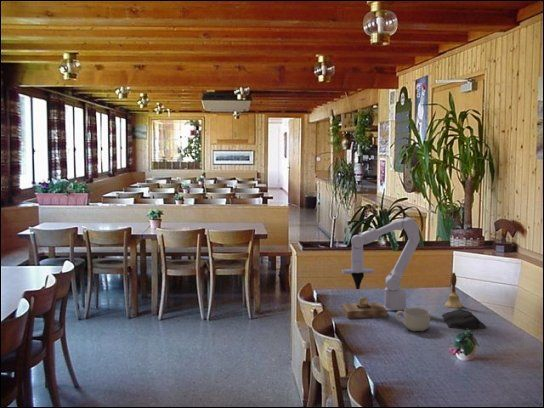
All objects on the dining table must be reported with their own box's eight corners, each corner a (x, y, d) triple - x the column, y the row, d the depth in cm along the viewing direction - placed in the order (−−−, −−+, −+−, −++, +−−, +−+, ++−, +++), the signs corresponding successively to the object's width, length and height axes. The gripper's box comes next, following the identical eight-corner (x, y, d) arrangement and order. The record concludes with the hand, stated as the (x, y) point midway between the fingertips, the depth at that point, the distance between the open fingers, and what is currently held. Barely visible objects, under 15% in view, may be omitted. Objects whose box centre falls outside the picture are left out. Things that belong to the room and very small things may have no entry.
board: (379, 308, 282) (379, 302, 282) (386, 316, 268) (386, 310, 268) (341, 309, 281) (341, 303, 281) (347, 318, 267) (347, 311, 267)
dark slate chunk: (474, 316, 268) (474, 305, 268) (487, 330, 247) (487, 319, 246) (439, 315, 270) (439, 305, 270) (449, 330, 248) (449, 319, 248)
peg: (369, 312, 276) (369, 297, 275) (366, 314, 272) (366, 299, 271) (360, 311, 277) (360, 296, 277) (358, 313, 274) (357, 298, 273)
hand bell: (441, 305, 285) (441, 272, 284) (451, 302, 290) (451, 270, 289) (455, 309, 279) (456, 275, 277) (466, 306, 284) (466, 273, 282)
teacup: (432, 327, 251) (432, 309, 250) (427, 334, 241) (427, 315, 240) (399, 324, 257) (399, 305, 256) (393, 331, 247) (393, 312, 246)
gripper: (370, 258, 286) (370, 286, 287) (340, 259, 285) (341, 287, 286) (374, 261, 279) (374, 289, 280) (343, 262, 278) (343, 290, 279)
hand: (357, 288), depth 283 cm, fingers closed
